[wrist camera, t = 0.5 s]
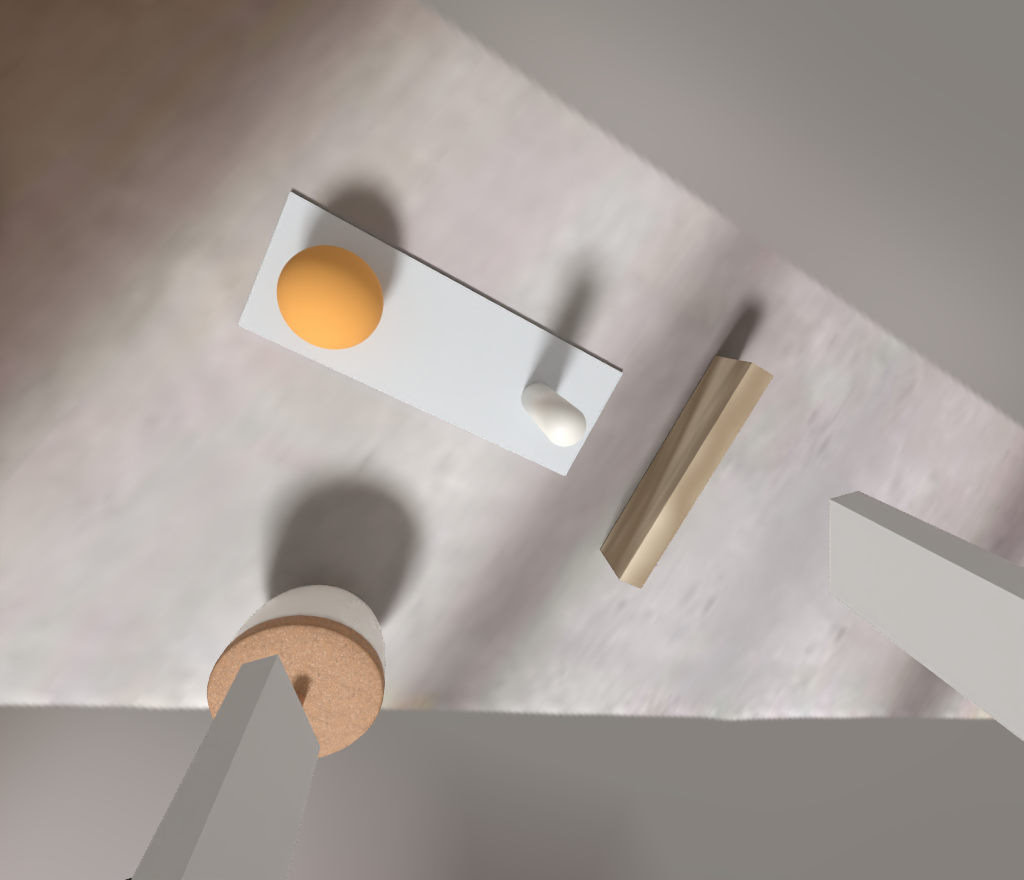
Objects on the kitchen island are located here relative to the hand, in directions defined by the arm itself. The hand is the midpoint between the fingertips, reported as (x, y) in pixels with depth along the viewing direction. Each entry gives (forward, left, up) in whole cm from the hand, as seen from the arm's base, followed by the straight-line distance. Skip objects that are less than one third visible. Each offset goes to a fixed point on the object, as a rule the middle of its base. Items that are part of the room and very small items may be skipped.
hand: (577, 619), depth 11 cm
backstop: (+11, +11, -25) cm, 30 cm away
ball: (-10, -6, -22) cm, 25 cm away
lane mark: (-4, -1, -25) cm, 26 cm away
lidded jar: (+11, -19, -25) cm, 33 cm away
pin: (+1, +4, -25) cm, 26 cm away
